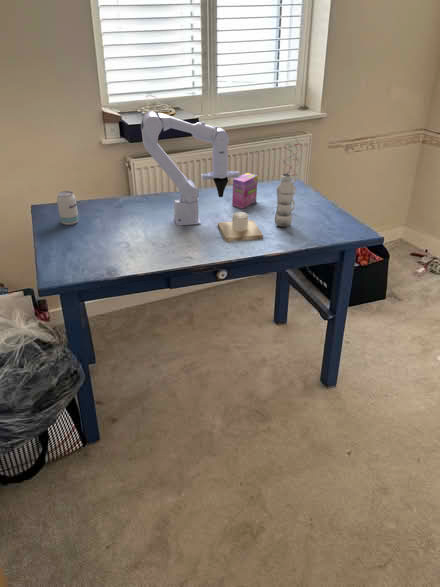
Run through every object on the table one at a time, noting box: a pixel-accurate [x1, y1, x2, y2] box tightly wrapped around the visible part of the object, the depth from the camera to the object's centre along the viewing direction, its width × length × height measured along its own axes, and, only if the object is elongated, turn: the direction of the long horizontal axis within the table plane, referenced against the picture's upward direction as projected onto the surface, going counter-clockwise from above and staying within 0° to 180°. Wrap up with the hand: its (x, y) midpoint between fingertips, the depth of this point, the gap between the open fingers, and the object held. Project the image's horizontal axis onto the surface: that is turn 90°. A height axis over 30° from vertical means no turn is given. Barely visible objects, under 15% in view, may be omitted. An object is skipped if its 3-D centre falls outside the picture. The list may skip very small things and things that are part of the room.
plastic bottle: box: [274, 173, 295, 228], centre depth 192 cm, size 6×7×20 cm
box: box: [231, 172, 259, 209], centre depth 213 cm, size 10×6×12 cm, turn 143°
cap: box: [231, 211, 249, 232], centre depth 189 cm, size 5×5×6 cm
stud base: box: [217, 219, 264, 242], centre depth 190 cm, size 14×14×6 cm
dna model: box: [282, 136, 301, 212], centre depth 201 cm, size 7×6×30 cm
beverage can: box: [56, 190, 80, 226], centre depth 194 cm, size 7×7×12 cm
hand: (220, 196), depth 197 cm, fingers closed
